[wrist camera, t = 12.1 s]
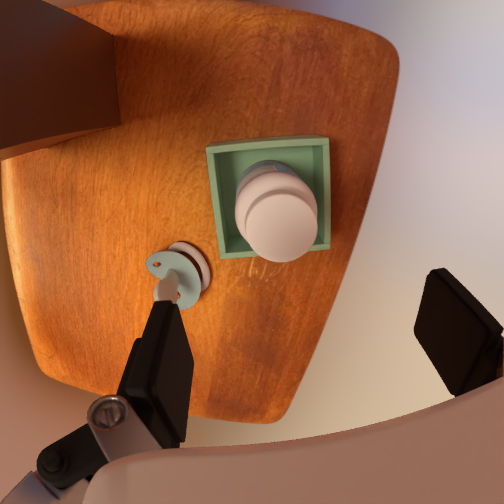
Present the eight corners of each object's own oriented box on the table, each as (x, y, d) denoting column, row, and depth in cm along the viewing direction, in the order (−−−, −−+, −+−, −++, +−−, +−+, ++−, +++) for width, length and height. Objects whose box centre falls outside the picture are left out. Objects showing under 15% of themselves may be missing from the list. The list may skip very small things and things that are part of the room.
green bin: (210, 142, 28) (205, 147, 23) (316, 134, 28) (329, 137, 23) (222, 240, 32) (220, 259, 28) (319, 231, 32) (330, 249, 28)
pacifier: (190, 229, 31) (143, 252, 32) (181, 254, 26) (127, 280, 26) (221, 284, 34) (176, 302, 35) (219, 317, 29) (167, 336, 29)
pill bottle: (307, 203, 30) (341, 251, 20) (252, 227, 31) (258, 286, 21) (284, 148, 28) (310, 167, 17) (225, 174, 28) (216, 208, 18)
